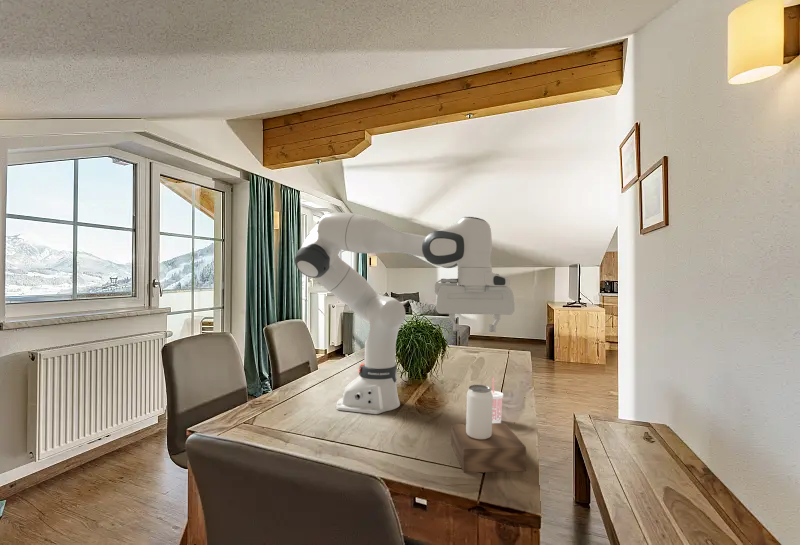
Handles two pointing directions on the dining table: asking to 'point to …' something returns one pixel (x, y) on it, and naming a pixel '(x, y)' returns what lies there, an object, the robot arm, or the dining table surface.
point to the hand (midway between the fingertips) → (474, 331)
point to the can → (479, 412)
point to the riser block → (488, 450)
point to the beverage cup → (496, 405)
